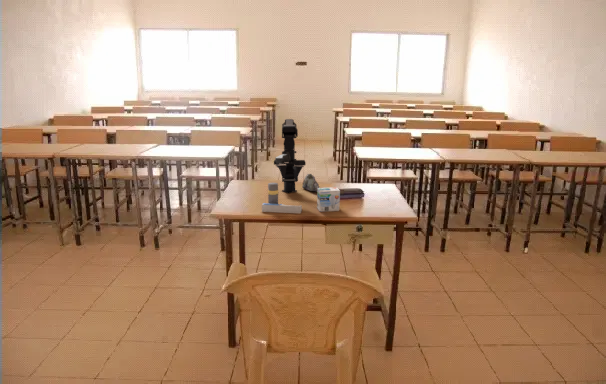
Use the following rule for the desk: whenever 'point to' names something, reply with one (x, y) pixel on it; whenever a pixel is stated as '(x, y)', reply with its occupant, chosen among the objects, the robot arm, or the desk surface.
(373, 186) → the desk surface
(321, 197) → the light bulb box
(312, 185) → the mineral rock
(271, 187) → the grey banded capsule
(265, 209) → the white blue striped bracket
